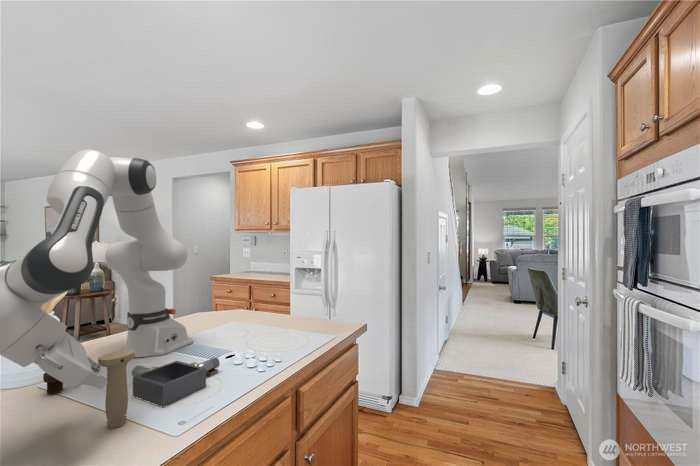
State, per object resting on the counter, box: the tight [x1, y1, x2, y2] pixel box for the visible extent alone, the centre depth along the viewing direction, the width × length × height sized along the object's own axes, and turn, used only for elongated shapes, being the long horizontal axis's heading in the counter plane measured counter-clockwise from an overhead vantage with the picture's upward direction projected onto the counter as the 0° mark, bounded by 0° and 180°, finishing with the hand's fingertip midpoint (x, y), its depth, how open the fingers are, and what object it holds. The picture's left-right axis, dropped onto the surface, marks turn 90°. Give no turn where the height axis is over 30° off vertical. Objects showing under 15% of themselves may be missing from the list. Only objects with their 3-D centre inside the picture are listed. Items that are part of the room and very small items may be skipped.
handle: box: [97, 349, 135, 429], centre depth 71 cm, size 5×6×15 cm
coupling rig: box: [131, 357, 220, 408], centre depth 92 cm, size 20×20×5 cm
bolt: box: [42, 331, 69, 396], centre depth 86 cm, size 6×5×15 cm
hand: (101, 377), depth 70 cm, fingers open, 8 cm apart
